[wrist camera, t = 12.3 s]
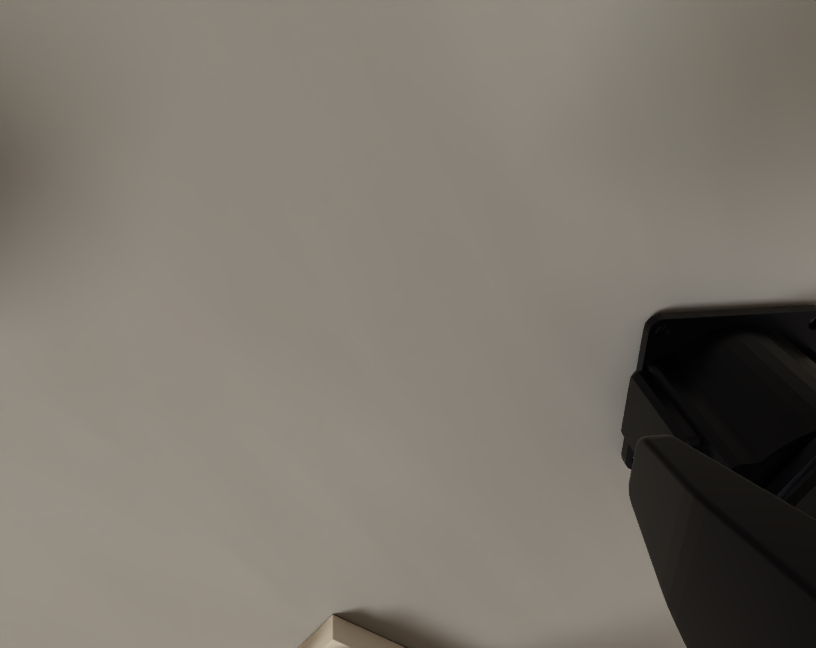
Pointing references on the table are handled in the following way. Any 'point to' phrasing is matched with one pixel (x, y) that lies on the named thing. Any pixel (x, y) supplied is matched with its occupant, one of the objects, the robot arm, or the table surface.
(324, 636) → the track
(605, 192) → the table surface
